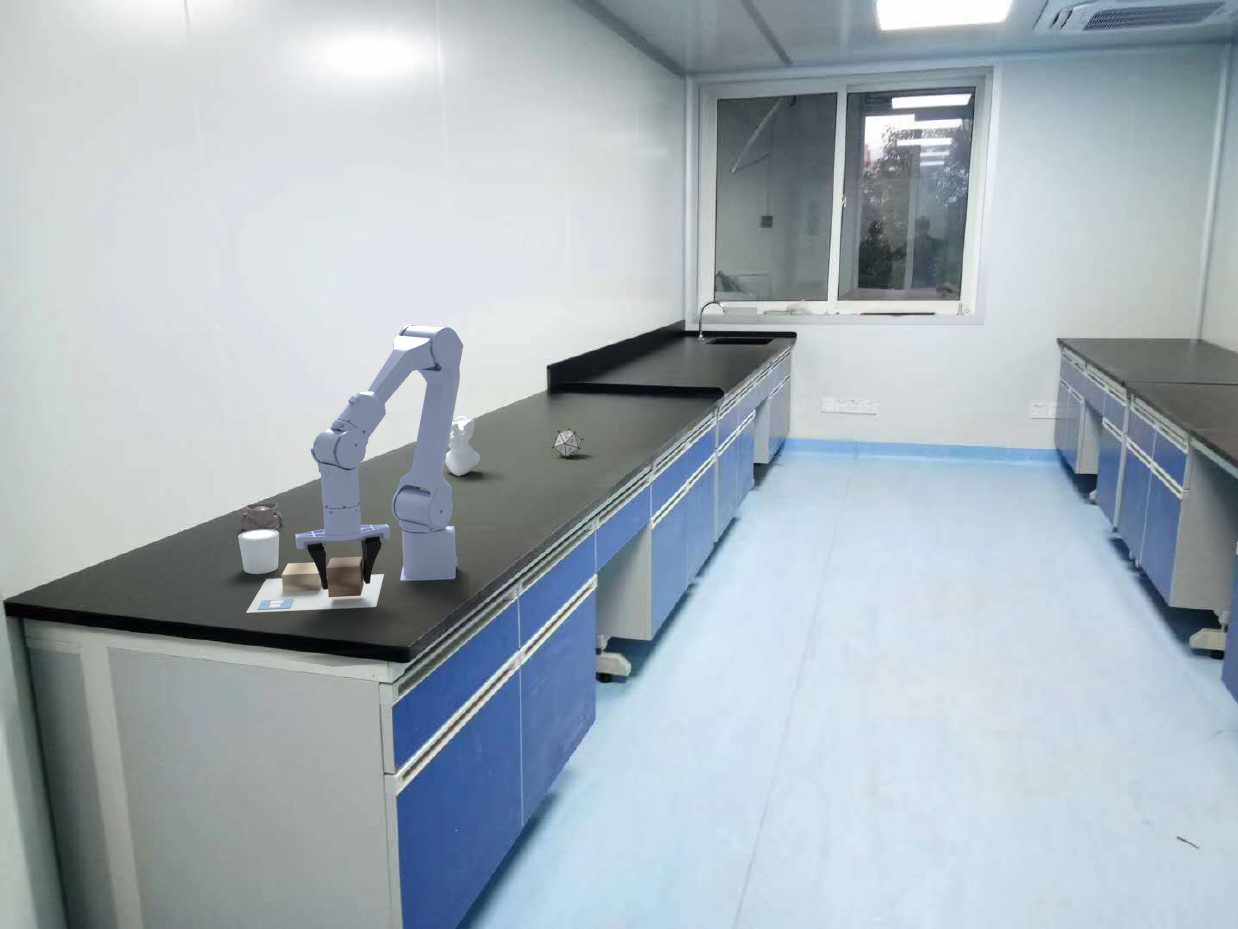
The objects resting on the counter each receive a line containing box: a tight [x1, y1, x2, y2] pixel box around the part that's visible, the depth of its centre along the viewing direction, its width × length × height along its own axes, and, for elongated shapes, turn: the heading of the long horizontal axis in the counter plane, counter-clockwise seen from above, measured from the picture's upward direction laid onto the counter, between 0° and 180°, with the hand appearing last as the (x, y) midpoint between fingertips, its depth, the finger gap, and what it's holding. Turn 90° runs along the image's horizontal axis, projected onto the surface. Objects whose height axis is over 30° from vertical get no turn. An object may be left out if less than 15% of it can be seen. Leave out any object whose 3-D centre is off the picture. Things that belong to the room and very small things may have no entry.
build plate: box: [245, 573, 385, 614], centre depth 159 cm, size 20×16×1 cm
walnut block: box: [326, 556, 364, 597], centre depth 155 cm, size 5×5×5 cm
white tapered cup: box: [237, 529, 280, 575], centre depth 170 cm, size 7×7×7 cm
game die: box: [550, 427, 584, 458], centre depth 268 cm, size 9×8×10 cm
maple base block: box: [281, 561, 322, 592], centre depth 162 cm, size 6×6×3 cm
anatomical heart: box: [445, 415, 481, 477], centre depth 244 cm, size 10×11×15 cm
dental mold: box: [241, 502, 284, 532], centre depth 196 cm, size 8×7×5 cm
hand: (346, 584), depth 155 cm, fingers closed on walnut block, 6 cm apart
